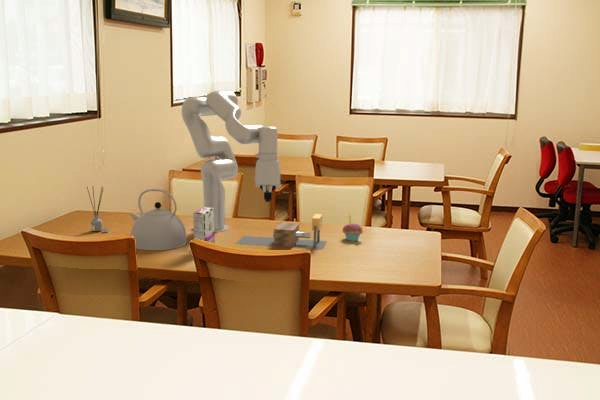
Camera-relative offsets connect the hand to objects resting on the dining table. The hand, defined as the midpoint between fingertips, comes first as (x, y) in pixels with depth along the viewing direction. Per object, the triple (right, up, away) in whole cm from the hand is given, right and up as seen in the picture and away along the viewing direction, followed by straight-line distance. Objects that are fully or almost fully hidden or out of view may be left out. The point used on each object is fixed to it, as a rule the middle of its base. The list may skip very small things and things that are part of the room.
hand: (268, 201), depth 268 cm
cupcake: (+35, -17, +11) cm, 41 cm away
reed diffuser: (-75, -13, +18) cm, 78 cm away
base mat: (+6, -18, +3) cm, 19 cm away
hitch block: (+12, -17, +2) cm, 21 cm away
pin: (+10, -16, +2) cm, 19 cm away
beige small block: (+20, -11, -1) cm, 23 cm away
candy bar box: (-25, -20, -9) cm, 33 cm away
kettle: (-46, -17, +1) cm, 49 cm away
